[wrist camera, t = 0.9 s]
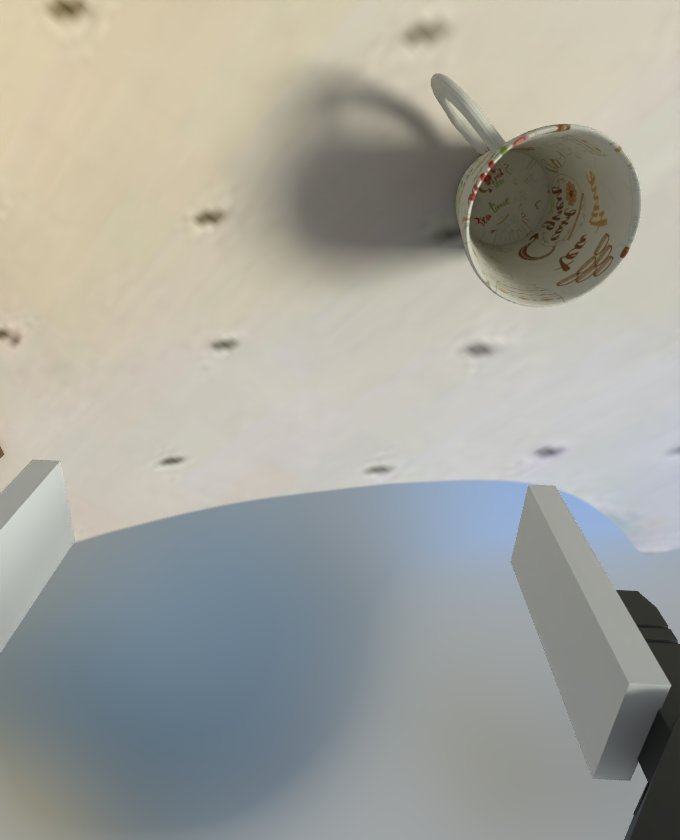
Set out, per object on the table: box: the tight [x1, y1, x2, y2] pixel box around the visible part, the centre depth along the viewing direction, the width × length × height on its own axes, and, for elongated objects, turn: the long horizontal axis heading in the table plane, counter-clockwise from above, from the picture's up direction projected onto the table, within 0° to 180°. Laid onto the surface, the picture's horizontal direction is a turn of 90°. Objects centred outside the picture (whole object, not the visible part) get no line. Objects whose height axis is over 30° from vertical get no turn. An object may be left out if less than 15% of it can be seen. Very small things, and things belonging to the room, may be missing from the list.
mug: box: [431, 74, 642, 307], centre depth 32 cm, size 8×13×10 cm, turn 43°
